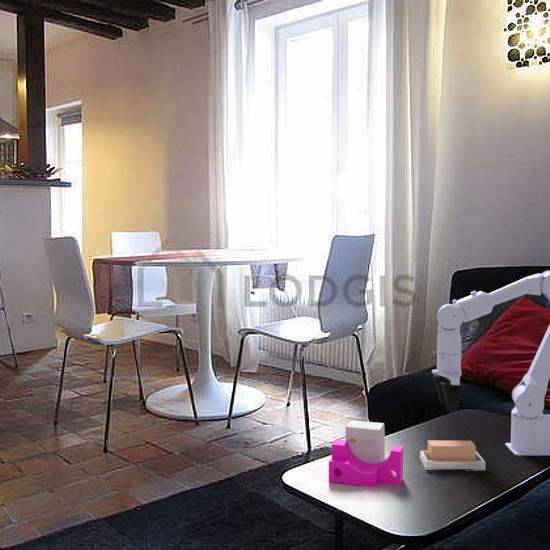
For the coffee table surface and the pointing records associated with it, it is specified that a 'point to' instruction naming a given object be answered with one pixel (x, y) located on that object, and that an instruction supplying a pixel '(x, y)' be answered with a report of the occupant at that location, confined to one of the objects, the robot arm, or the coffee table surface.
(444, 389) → the robot arm
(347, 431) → the small box
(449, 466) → the gray rectangular tray
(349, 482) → the toy block
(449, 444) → the peach rectangular prism
